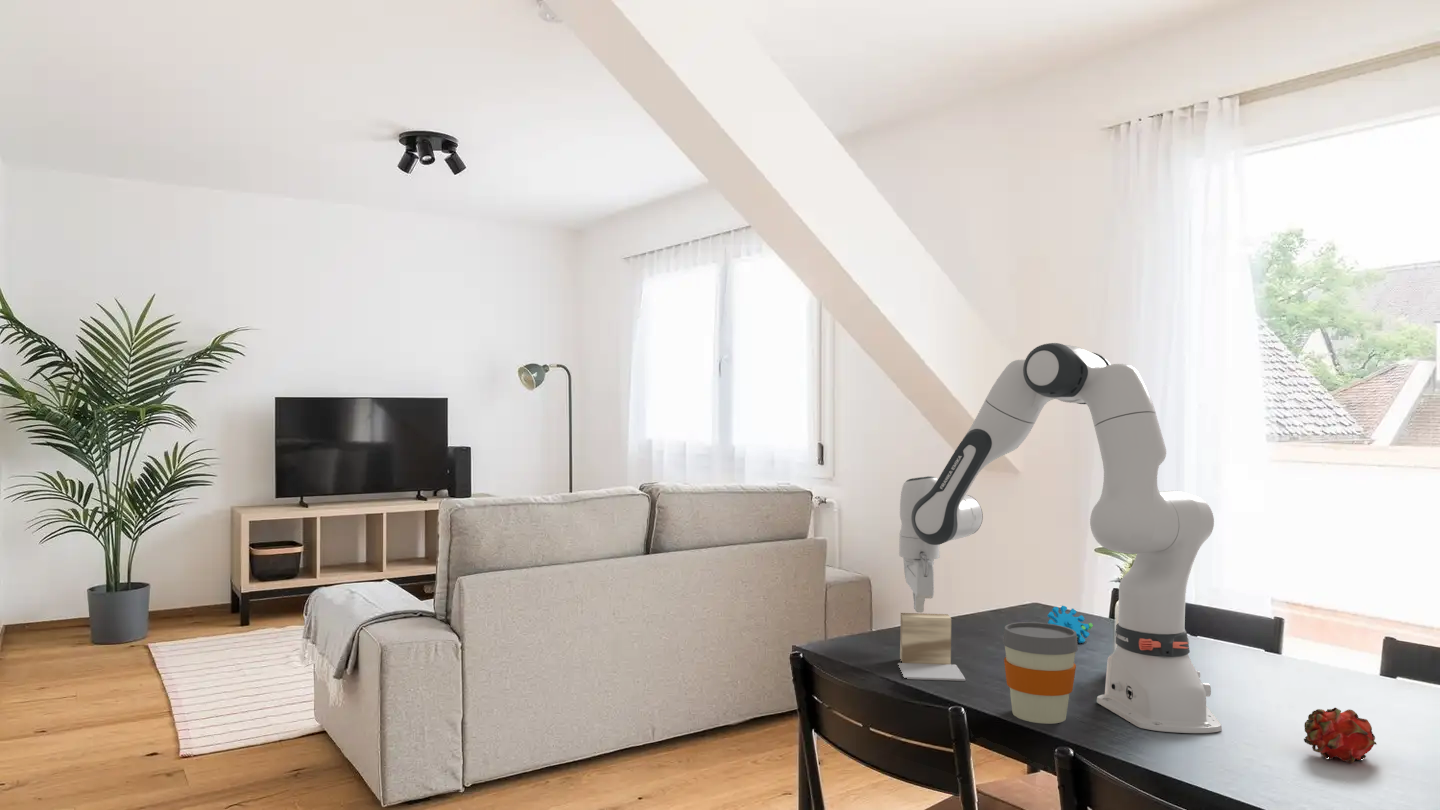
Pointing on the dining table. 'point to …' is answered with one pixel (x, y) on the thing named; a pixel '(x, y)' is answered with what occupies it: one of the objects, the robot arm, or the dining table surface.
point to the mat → (931, 671)
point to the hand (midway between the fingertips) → (918, 611)
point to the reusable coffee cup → (1039, 670)
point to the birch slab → (925, 638)
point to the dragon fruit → (1339, 734)
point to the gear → (1070, 622)
